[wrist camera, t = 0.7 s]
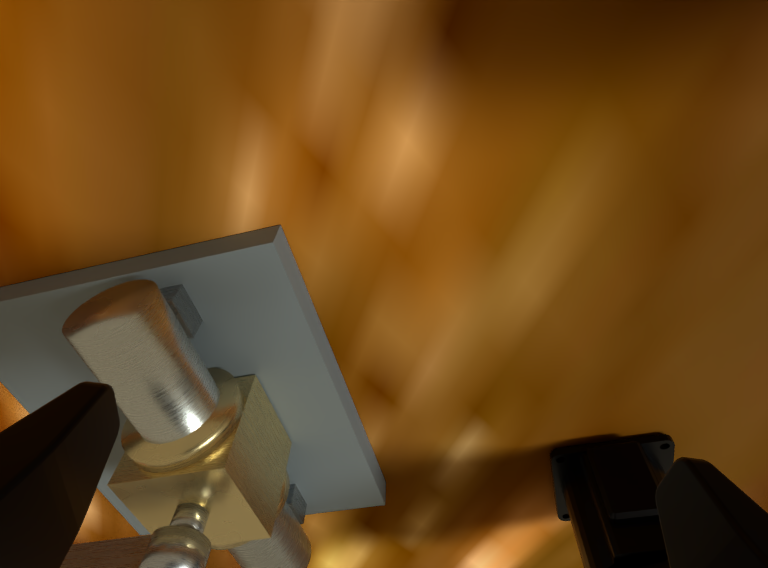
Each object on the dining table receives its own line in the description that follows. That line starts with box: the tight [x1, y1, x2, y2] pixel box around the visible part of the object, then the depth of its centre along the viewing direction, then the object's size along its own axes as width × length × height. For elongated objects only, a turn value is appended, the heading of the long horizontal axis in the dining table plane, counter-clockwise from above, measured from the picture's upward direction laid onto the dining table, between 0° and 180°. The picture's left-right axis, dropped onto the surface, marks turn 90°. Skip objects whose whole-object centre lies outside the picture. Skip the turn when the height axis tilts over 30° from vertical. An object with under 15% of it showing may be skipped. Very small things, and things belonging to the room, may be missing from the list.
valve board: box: [0, 225, 386, 535], centre depth 27 cm, size 18×16×2 cm
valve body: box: [62, 279, 311, 568], centre depth 24 cm, size 18×5×6 cm, turn 14°
